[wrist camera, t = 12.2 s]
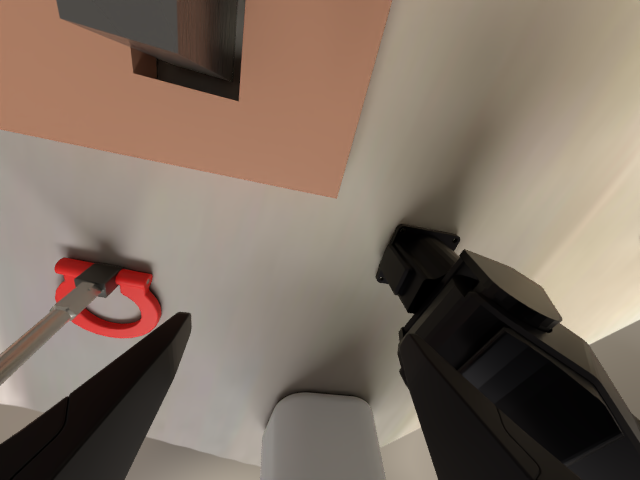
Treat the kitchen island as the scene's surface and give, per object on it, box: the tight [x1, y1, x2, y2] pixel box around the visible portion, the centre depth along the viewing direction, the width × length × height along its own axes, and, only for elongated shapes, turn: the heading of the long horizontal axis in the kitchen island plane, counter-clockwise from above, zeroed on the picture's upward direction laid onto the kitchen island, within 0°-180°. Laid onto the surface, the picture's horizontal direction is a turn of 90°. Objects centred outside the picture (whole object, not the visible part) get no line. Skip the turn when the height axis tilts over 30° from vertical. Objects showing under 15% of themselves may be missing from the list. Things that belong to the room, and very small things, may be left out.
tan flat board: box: [0, 0, 392, 199], centre depth 12 cm, size 20×16×2 cm
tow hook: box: [0, 258, 161, 385], centre depth 17 cm, size 8×13×9 cm
